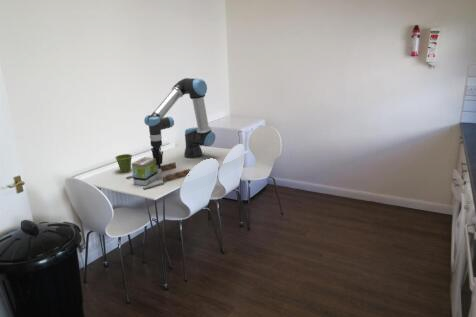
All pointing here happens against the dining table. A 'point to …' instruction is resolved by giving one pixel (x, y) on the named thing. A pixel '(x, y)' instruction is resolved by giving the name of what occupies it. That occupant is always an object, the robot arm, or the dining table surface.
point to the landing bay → (148, 186)
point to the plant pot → (124, 162)
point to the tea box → (144, 171)
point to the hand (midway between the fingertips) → (159, 172)
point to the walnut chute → (173, 175)
